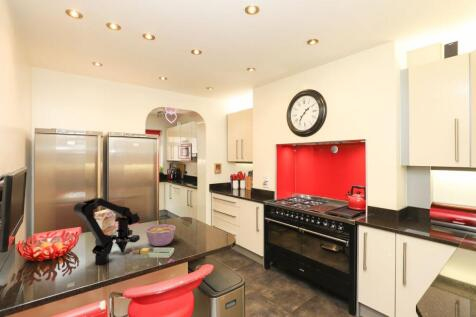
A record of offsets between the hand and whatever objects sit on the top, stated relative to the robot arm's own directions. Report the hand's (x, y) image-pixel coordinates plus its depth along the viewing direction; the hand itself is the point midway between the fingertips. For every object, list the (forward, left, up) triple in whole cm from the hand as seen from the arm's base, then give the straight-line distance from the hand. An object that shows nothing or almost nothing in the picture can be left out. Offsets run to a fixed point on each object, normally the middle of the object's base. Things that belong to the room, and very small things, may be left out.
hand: (122, 252), depth 143 cm
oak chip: (0, -9, -1) cm, 9 cm away
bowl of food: (+18, -17, -2) cm, 25 cm away
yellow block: (0, -14, -1) cm, 14 cm away
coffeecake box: (+36, +33, -2) cm, 49 cm away
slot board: (0, -11, -2) cm, 11 cm away
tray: (0, -24, -2) cm, 24 cm away
